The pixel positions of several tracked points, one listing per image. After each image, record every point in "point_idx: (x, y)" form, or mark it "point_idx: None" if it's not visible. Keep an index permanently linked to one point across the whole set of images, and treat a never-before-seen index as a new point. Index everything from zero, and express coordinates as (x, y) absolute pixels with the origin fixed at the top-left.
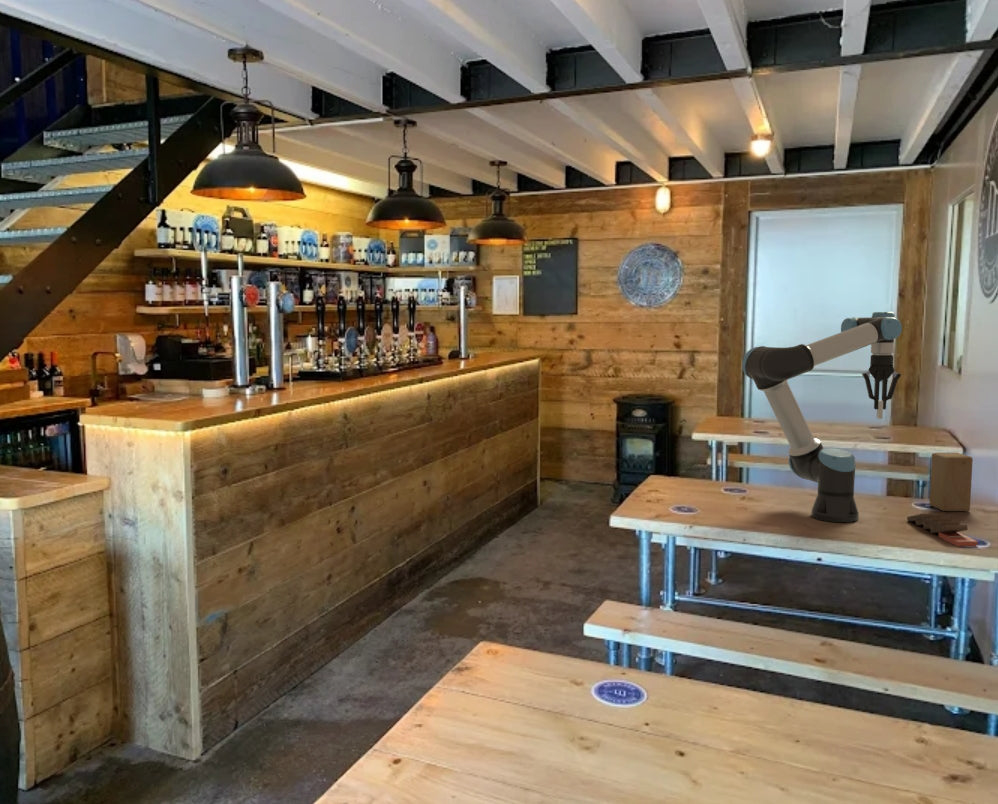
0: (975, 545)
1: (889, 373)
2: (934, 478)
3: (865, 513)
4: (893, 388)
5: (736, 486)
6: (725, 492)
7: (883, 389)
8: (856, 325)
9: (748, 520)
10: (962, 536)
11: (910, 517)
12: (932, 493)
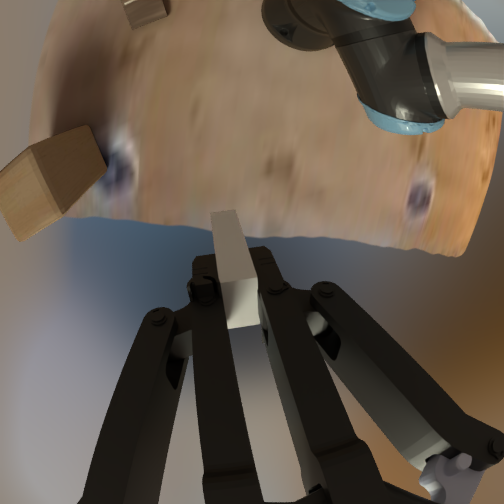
0: None
1: None
2: (79, 170)
3: (240, 55)
4: (123, 403)
5: (411, 227)
6: (432, 182)
7: (236, 382)
8: None
9: (419, 10)
10: None
11: (163, 5)
12: (95, 165)
